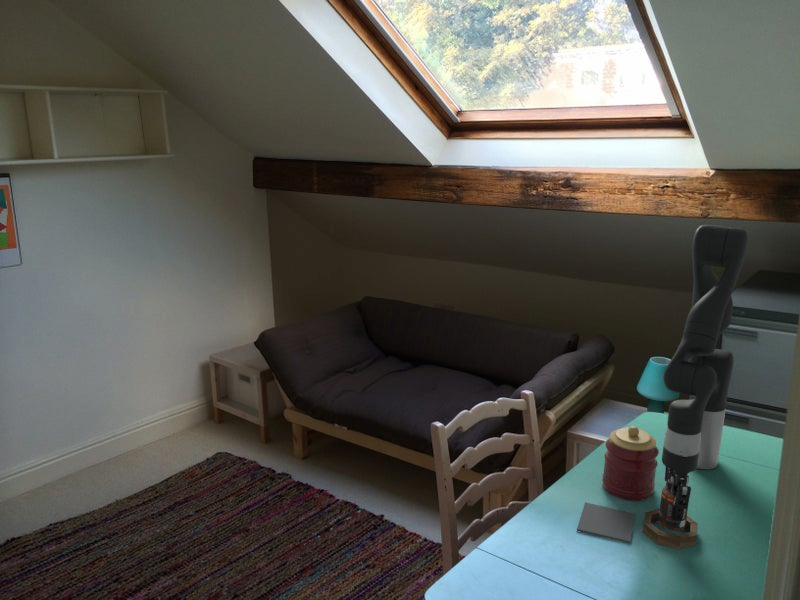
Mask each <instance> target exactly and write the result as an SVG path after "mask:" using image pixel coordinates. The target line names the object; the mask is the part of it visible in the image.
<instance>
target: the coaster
mask: <svg viewBox="0 0 800 600" xmlns="http://www.w3.org/2000/svg"><path fill="white" fill-rule="evenodd" d="M635 517H636V513H635V512H630V511H626V510H622V509H617V508H613V507H609V506H604V505H599V504H594V503H590V502H586V501H585V502H584V504H583V508H582V512H581V515H580V518H579V521H578V524H577V528H576V532H578V531H580V532H579V533H583V534H587V535H591V534H592V535H593V536H597V537H601V538H604V539H610V540H614V541H617V542H621V543H622V542H623V543H625V544H631V540H632V536H633V530H634V524H635Z"/></svg>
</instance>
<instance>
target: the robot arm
mask: <svg viewBox="0 0 800 600" xmlns="http://www.w3.org/2000/svg"><path fill="white" fill-rule="evenodd" d="M694 232H695V233H694V235H693V239H692V241H693V242H692V250H691V253H692V270H693V271H692V272H693V273H692V274H693V286H692V287H693V289H692V300H691V309H690V311H689V313H688V315H687V317H686V321H685V326H684V330H683V332H682V333H683V334H682V337H681V340H680V343H679V345H678V347H677V349H676V351H675V353H674V354H673V356H672V358H671V360H670V361H669V363H668V364H667V365H666V368H665V370H664V373H663V383H664V386H665V387H666V388H667V390H668V391H672V392H674V393H679V394H684V395H688V396H689V399H676V400H673V401H672V402H671V403H670V404H669V408H668V414H667V423H666V429H665V432H664V437H663V446H662V455H661V462H662V465H664V466H665V472H664V474H665V475H664V481H665V482H666V483H665V486H666V485H667V482H668V479H669V478H670V482H671V494H672V495H673V507H672V515H671V517H672V519H673V520H682V516H683V509H687V508H688V509H689V504H690V503H689V502H690V496H691V491H692V487H691V486H689V483H690V476H689V475H688V474H689V473H691V472H694V471H695V470H697V469H699V470H712V469H713V470H714V469H715V468H717V467H718V463H719V460H720V459H719V458H720V451H721V444H722V437H723V430H724V423H725V416H726V415H725V414H726V410H727V409H726V408H727V402H728V401H727V400H728V393H729V388H730V382H731V378H732V373H733V369H734V362H735V361H734V354H733V353H732V352H731V351H729V350H726V349H719V348H716V347H717V342H718V340H719V339H718V338H719V337H720V335H722V334H723V333H724V332H725V331H726V330H728V328H729V327H730V325H731V323H732V319H733V309H734V301H733V297H732V294H733V293H734V289H735V287H736V284H737V281H738V278H739V276H740V273H741V270H742V267H743V265H744V262H745V258H746V256H747V255H746V254H747V250H748V243H749V236H748V232H747V231H746V230H745V229H743V228H741V227H734V226H731V227H730V226H725V225H718V224H717V225H715V224H701V225H699V226H698V227H697V229H696V230H695V231H694ZM713 267H717V268H724V270H723V273H722V275H721V276H720V279H719V277H718V276H717V275H716V273H715V272H714V270H713ZM674 489H677V492H675V491H674Z"/></svg>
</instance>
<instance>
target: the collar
mask: <svg viewBox="0 0 800 600" xmlns="http://www.w3.org/2000/svg"><path fill="white" fill-rule="evenodd" d="M659 511H660V507H658V508H655V509H651V510H647V511H645V512H644V518H643V524H642V533H643V534H644V535H645V536H647V538H649V539H650V540H651V541H652V542H653V543H655V544H656V545H659V546H663V547H667V548H668V547H669V548H672V549H678V550H681V549H682V550H683V549H685V548H689V547H692V546H694V545H695V546H696V545H697V542H698V541H697V540H698V532H699V531H698V529H699V527H698V525H699V523H698V522H697V521H695V520H694V519H693V518H692V517H690V516H689V515H687V518H686V525H685V528H684V529H683V530H686V531H687V532H685V533H684V532H683V533H682V534H674V533H669V532H664V531H661V530H660V529H659V528H658V527H656V526H655V525H654V524H655V523H659Z"/></svg>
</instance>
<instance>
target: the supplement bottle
mask: <svg viewBox="0 0 800 600" xmlns="http://www.w3.org/2000/svg"><path fill="white" fill-rule="evenodd" d="M674 491H675V492H677V489H674ZM660 496H661V497H660V504H659V505H660V506H659V508H660V511H659V522H658V523H659V525H660V526H662V527H663V528H665V529H666V530H669V531H682V530H685V529H684V528H685V525H686V518H687V516H688V509H689V507H688V508H687V509H683V516H682V520H673V519H672V517H671V515H672V507H673V495H672V494H671V482H670V478H669V479H668V482H667V485H666V484H665V485H664V486H663V487H662V490H661V495H660Z"/></svg>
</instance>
